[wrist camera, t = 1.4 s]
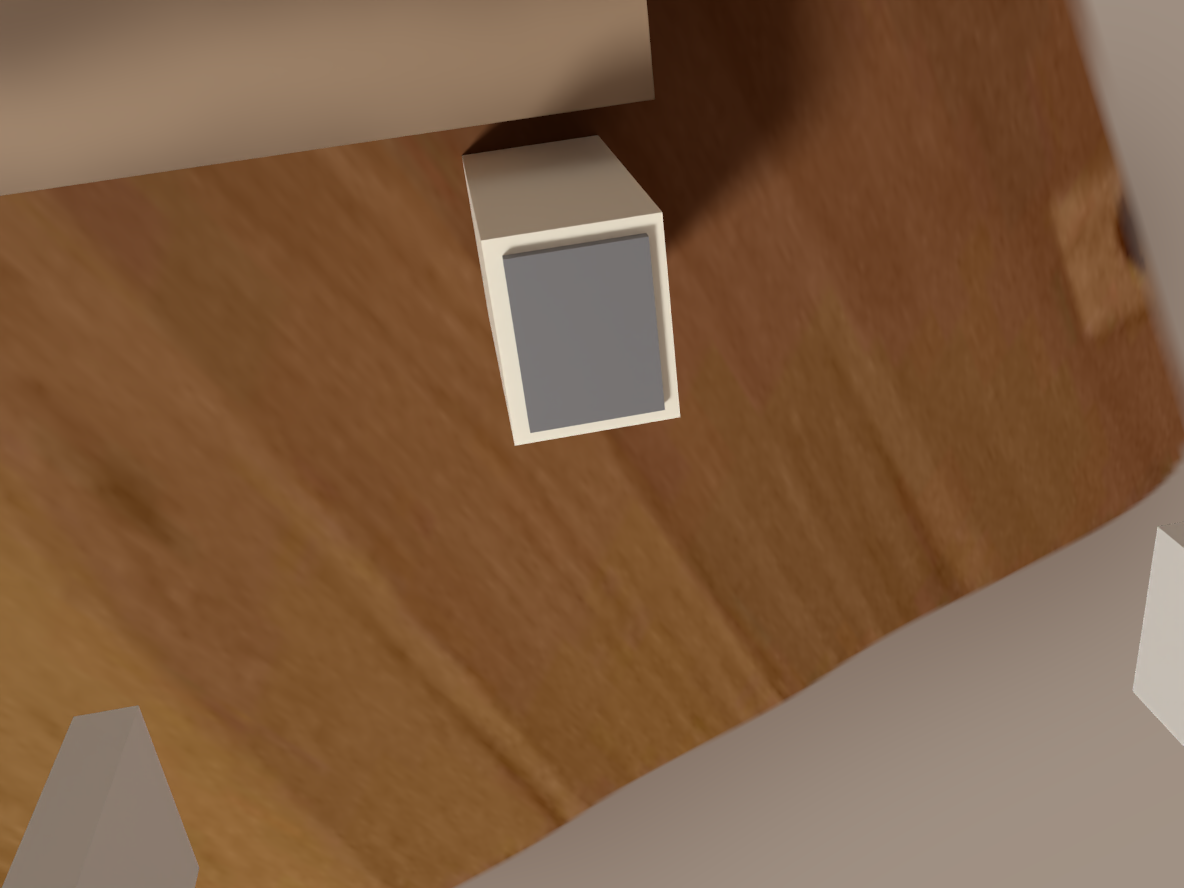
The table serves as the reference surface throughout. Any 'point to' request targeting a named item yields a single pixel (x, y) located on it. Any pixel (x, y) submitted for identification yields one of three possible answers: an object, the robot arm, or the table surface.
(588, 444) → the table surface
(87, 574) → the table surface
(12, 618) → the table surface
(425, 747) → the table surface
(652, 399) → the block
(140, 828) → the robot arm
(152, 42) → the wooden plank
